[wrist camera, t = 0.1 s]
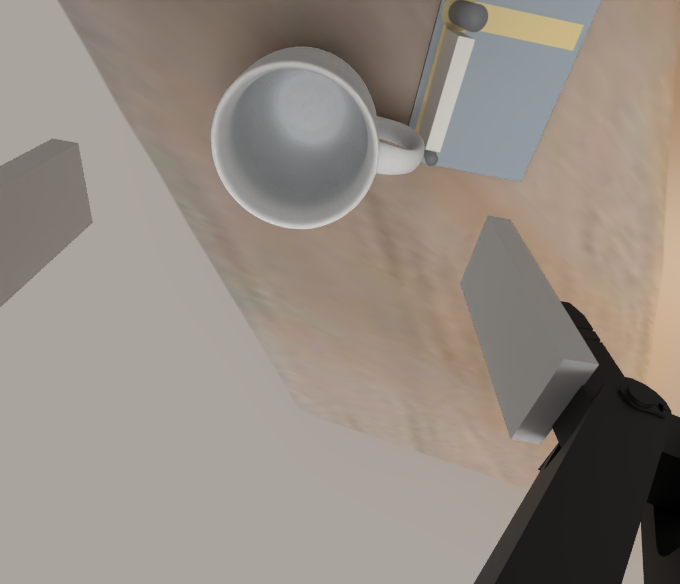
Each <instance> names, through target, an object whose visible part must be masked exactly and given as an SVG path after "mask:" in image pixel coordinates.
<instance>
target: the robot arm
mask: <svg viewBox="0 0 680 584" xmlns="http://www.w3.org/2000/svg"><path fill="white" fill-rule="evenodd" d="M90 224H92V217H91V212H90V206H89V201H88V195H87V189H86V184H85V179H84V173H83V167H82V163H81V156H80V151H79V146H78V143H73V142H68V141H62V140H57V139H51V140H49V141H47V142H45V143H43V144H41V145H40V146H38V147H36V148H34V149H32V150H30V151H28V152H26V153H25V154H22V155H21V156H19V157H17V158H15V159H13V160H11V161H9V162H7V163H5V164H4V165H2V166H0V307H1V306H2V305H3V304H4V303H5V302H7V301H8V300H9V299H10V298H11V297H12V296H13V295H14V294H15V293H16V292H17V291H19V290H20V289H21V288H22V287H23V286H24V285H25V284H26V283H27V282H28V281H29V280H30V279H32V278H33V277H34V276H35V275H36V274H37V273H38V272H39V271H40V270H41V269H42V268H44V267H45V266H46V265H47V264H48V263H49V262H50V261H51V260H52V259H53V258H54V257H56V256H57V255H58V254H59V253H60V252H61V251H62V250H63V249H64V248H65V247H67V246H68V245H69V244H70V243H71V242H72V241H73V240H74V239H75V238H76V237H77V236H79V235H80V234H81V233H82V232H83V231H84V230H85V229H86V228H87V227H88V226H89V225H90ZM460 284H461V287H462V290H463V293H464V296H465V299H466V302H467V305H468V309H469V312H470V315H471V318H472V321H473V324H474V327H475V330H476V333H477V336H478V340H479V343H480V346H481V349H482V352H483V355H484V358H485V361H486V364H487V367H488V370H489V374H490V377H491V380H492V383H493V386H494V389H495V392H496V395H497V398H498V401H499V405H500V408H501V411H502V414H503V417H504V420H505V423H506V426H507V429H508V432H509V435H510V439H511V440H518V441H525V442H532V443H539V444H541V443H542V442H543V440H544V439H545V438H546V436H547V435H548V434H549V432H550V431H551V430H552V428H553V430H554V432H555V435H556V437H557V439H558V442H559V443H558V444H557V445H556V447H555V448H554V449H553V451H552V452H551V453H550V455H549V456H548V457H547V458H546V460H545V461H544V462H543V464H542V465H541V466H540V468H539V469H538V470H540V473H539V474H538V476H537V478H536V479H535V481H534V483H533V484H532V486H531V488H530V489H529V491H528V493H527V495H526V496H525V498H524V500H523V501H522V503H521V505H520V506H519V508H518V510H517V511H516V513H515V515H514V517H513V518H512V520H511V522H510V524H509V525H508V527H507V528H506V530H505V532H504V534H503V535H502V537H501V539H500V540H499V542H498V544H497V545H496V547H495V549H494V550H493V552H492V554H491V555H490V557H489V559H488V561H487V562H486V564H485V566H484V567H483V569H482V571H481V572H480V574H479V576H478V577H477V579H476V581H475V583H474V584H621V583H622V580H623V577H624V573H625V570H626V567H627V564H628V560H629V557H630V554H631V551H632V548H633V544H634V541H635V538H636V534H637V531H638V528H639V525H640V522H641V533H642V553H643V572H644V584H680V417H678V416H675V415H672V414H671V410H670V408H669V407H668V405H667V403H666V402H665V401H664V400H663V399H662V398H661V397H660V396H659V395H658V394H657V393H656V392H655V391H654V390H652V389H651V388H649V387H648V386H646V385H645V384H643V383H641V382H638V381H636V380H634V379H632V378H627V377H624V375H623V374H622V372H621V371H620V369H619V368H618V366H617V365H616V363H615V362H614V360H613V359H612V357H611V355H610V354H609V352H608V351H607V349H606V348H605V346H604V345H603V343H601V342H600V339H599V337H598V336H597V334H596V333H595V332H594V331H593V328H592V327H591V325H590V324H589V322H588V320H587V319H586V317H585V316H584V315H583V314H582V313H581V312H580V311H578V310H577V309H576V308H575V307H574V306H573V305H572V304H570V303H568V302H562V301H560V300H559V298H558V297H557V295H556V293H555V292H554V290H553V289H552V287H551V285H550V284H549V282H548V280H547V279H546V277H545V275H544V274H543V272H542V271H541V269H540V267H539V266H538V264H537V262H536V261H535V259H534V257H533V256H532V254H531V253H530V251H529V249H528V248H527V246H526V244H525V243H524V241H523V240H522V238H521V236H520V235H519V233H518V231H517V230H516V228H515V226H514V225H513V223H512V222H511V220H510V219H504V218H498V217H493V216H488V217H487V219H486V222H485V224H484V227H483V229H482V231H481V234H480V236H479V239H478V241H477V244H476V246H475V249H474V251H473V254H472V256H471V259H470V261H469V263H468V266H467V268H466V271H465V273H464V276H463V278H462V281H461V283H460Z"/></svg>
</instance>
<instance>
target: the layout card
mask: <svg viewBox="0 0 680 584" xmlns="http://www.w3.org/2000/svg"><path fill="white" fill-rule="evenodd" d="M455 1H457V0H441V3H440V7H439V11H438V15H437V18H436V22H435V26H434V30H433V34H432V38H431V41H430V45H429V49H428V53H427V57H426V61H425V64H424V68H423V72H422V76H421V80H420V84H419V87H418V91H417V95H416V99H415V103H414V107H413V110H412V114H411V118H410V122H409V127H411V128H413V129H414V130H415V131H417V132H418V133H419V129H420V125H421V122H422V118H423V114H424V111H425V107H426V104H427V100H428V96H429V93H430V89H431V86H432V82H433V78H434V75H435V71H436V67H437V64H438V60H439V57H440V53H441V49H442V46H443V42H444V39H445V35H446V31H447V29H450V30H455V31H459V32H463V33H465V34H466V35H468V36H470V37H472V38H474V39H475V42H474V46H473V49H472V52H471V55H470V58H469V62H468V65H467V68H466V71H465V74H464V77H463V81H462V84H461V87H460V90H459V93H458V97H457V100H456V103H455V106H454V109H453V113H452V116H451V119H450V122H449V125H448V129H447V132H446V135H445V138H444V141H443V145H442V148H441V151H440V153H439V152H436V154H437V156H438V162H437V164H435V166H440V167H445V168H451V169H456V170H461V171H466V172H472V173H477V174H482V175H487V176H493V177H498V178H503V179H509V180H514V181H519V182H521V181H522V179H523V177H524V175H525V172H526V170H527V168H528V165H529V163H530V161H531V159H532V156H533V154H534V152H535V150H536V147H537V145H538V143H539V141H540V138H541V136H542V134H543V131H544V129H545V127H546V125H547V122H548V120H549V118H550V116H551V113H552V111H553V109H554V107H555V104H556V102H557V100H558V97H559V95H560V93H561V91H562V88H563V86H564V84H565V82H566V79H567V77H568V75H569V73H570V70H571V68H572V66H573V63H574V61H575V59H576V57H577V54H578V52H579V50H580V48H581V45H582V43H583V41H584V38H585V36H586V34H587V32H588V29H589V27H590V25H591V23H592V20H593V18H594V16H595V14H596V11H597V9H598V7H599V4H600V2H601V0H464V1H468V2H473V3H477V4H481V5H483V6H484V7H485V8H486V9H487V11H488V20H487V23H486V25H485V26H484V28H483V29H481V30H480V31H478V32H469V31H467V30H465V29H463V28H461V27H459V26H457V25H456V24H454V23H452V22H451V21H450V19H449V16H448V12H449V8H450V6H451V5H452V4H453V3H454V2H455ZM420 163H424V164H426V162H425V159H424V156H423V158H422V160H421V162H420Z"/></svg>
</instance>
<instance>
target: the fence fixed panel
mask: <svg viewBox="0 0 680 584" xmlns="http://www.w3.org/2000/svg"><path fill="white" fill-rule="evenodd" d="M448 16H449V19H450V21H451V22H452V23H454V24H456V25H457V26H459V27H461V28H463V29H465V30H467V31H469V32H478V31H480V30H481V29H483V28H484V26H485V25H486V23H487V20H488V11H487V9H486V8H485V7H484V6H483V5H481V4H477V3H473V2H468V1H464V0H457V1H455V2H454V3H453V4H452V5H451V6H450V8H449V12H448ZM474 42H475V39H474V38H472V37H470V36H468V35H466V34H465V33H463V32H459V31H455V30H450V29H447V31H446V35H445V39H444V42H443V46H442V49H441V53H440V57H439V60H438V64H437V67H436V71H435V75H434V78H433V82H432V86H431V89H430V93H429V96H428V100H427V104H426V107H425V111H424V114H423V118H422V122H421V125H420V129H419V135H420V136H421V137H422V139H423V141H424V146H425V150H424V155H423V156H424V159H425V162H426V164H427V165H429V166H434V165H435V164H437V162H438V156H437V154H436V152H439V153H440V151H441V148H442V145H443V141H444V138H445V135H446V132H447V129H448V125H449V122H450V119H451V116H452V113H453V109H454V106H455V103H456V100H457V97H458V93H459V90H460V87H461V84H462V81H463V77H464V74H465V71H466V68H467V65H468V62H469V58H470V55H471V52H472V49H473V46H474Z"/></svg>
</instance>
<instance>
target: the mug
mask: <svg viewBox="0 0 680 584" xmlns="http://www.w3.org/2000/svg"><path fill="white" fill-rule="evenodd" d="M379 139H382V140H385V141H389V142H392V143H394V144H397V145H399V146H401V147H402V148H400V147H396V146H393V145H390V144H387V143H385V142H380V141H379ZM211 150H212V156H213V160H214V164H215V167H216V170H217V172H218V174H219V177H220V179H221V181H222V182H223V184H224V186H225V187H226V189H227V190H228V192H229V193H230V194H231V196H232V197H233V198H234V199H235V200H236V201H237V202H238V203H239V204H240V205H241V206H242V207H243V208H244V209H246V210H247V211H248V212H250V213H251V214H252V215H254V216H256V217H257V218H259V219H261V220H263V221H266V222H268V223H271V224H273V225H277V226H280V227H285V228H291V229H310V228H316V227H321V226H324V225H327V224H330V223H332V222H334V221H336V220H338V219H340V218H342V217H343V216H345V215H346V214H347V213H349V212H350V211H351V210H353V209H354V208H355V207H356V206H357V205H358V204H359V203H360V201H361V200H362V199H363V198H364V197H365V195H366V194H367V192H368V190H369V188H370V186H371V184H372V182H373V180H374V177H375V174H376V173H378V174H385V175H399V174H406V173H409V172H412V171H413V170H415V169H416V168H417V167H418V166H419V164H420V162H421V160H422V158H423V155H424V150H425V146H424V141H423V139H422V137H421V136H420V135H419V133H418V132H417V131H415V130H414V129H413V128H411V127H409V126H407V125H405V124H403V123H400V122H397V121H394V120H391V119H387V118H384V117H380V116H376V111H375V106H374V103H373V100H372V97H371V94H370V93H369V90H368V88H367V86H366V85H365V83H364V81H363V80H362V79H361V77H360V76H359V74H357V73H356V71H355V70H354V69H353V68H352V67H351V66H350V65H349V64H348V63H346V62H345V61H344V60H343V59H341V58H339V57H338V56H337V55H333V54H332V53H331V52H326V51H325V50H321V49H319V48H313V47H305V46H304V47H303V46H302V47H299V46H296V47H289V48H284V49H281V50H278V51H274V52H273V53H271V54H268V55H267V56H264V57H263V58H261V59H259V60H258V61H256V62H255V63H253V64H252V65H251V66H250V67H248V68H247V70H245V71H244V72H243V73H241V74H240V76H239V77H238V78H237V79H236V80H235V81H234V82H233V83H232V84H231V85H230V86H229V87H228V89H227V90H226V91H225V93H224V94H223V96H222V98H221V99H220V101H219V103H218V105H217V108H216V111H215V113H214V117H213V121H212V127H211Z"/></svg>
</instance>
